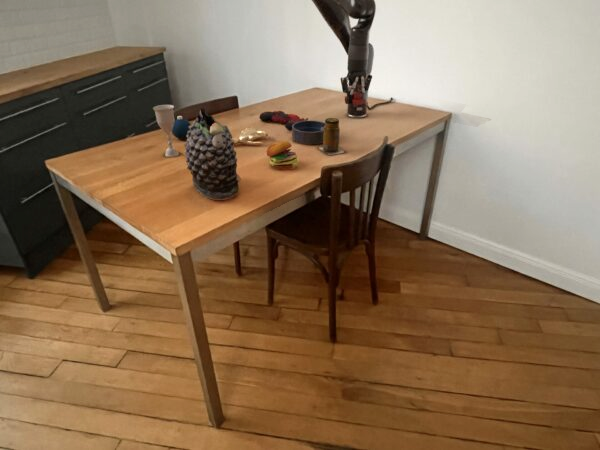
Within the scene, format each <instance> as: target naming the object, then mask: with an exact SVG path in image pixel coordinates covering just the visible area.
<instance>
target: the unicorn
mask: <svg viewBox="0 0 600 450" xmlns="http://www.w3.org/2000/svg"><path fill="white" fill-rule="evenodd" d="M263 138H266V140H269V139H271V135H270V133H269V132H265V131H263V130H258V128H257V127H248V128H247V127H245V129H243V130H242V131H240V135H238V136H237V137H236V136H235V137H234V138H232V139H233V146H235V145H239V144H241V145H247V146H248V145H249V146H259V145H263V141H256V140H257V139H263Z"/></svg>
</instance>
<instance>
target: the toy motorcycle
mask: <svg viewBox="0 0 600 450" xmlns="http://www.w3.org/2000/svg"><path fill="white" fill-rule="evenodd" d="M259 119H260V121H262V122H265V123H266V122H267V123H268V122H275V123H277V124H282V125H284V127H285V129H286V130H289V131H292V125H293V124H294V123H296V122H300V121H309V117H307V118H304V117H303V118H301V117H300V116H298V115H297V114H293V113H285V112H284V111H282V110H274V111H264V112H261V113H260V114H259Z"/></svg>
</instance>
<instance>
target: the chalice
mask: <svg viewBox="0 0 600 450" xmlns="http://www.w3.org/2000/svg"><path fill="white" fill-rule="evenodd" d="M174 108H175V106H174V105H173V104H159V105H156V106H153V107H152V110H153V111H154V113H155V118H156V122H157V125H158V126H159V127H160V129H161V130H162V132H163V133H165V134H166V139H167V143H166V144H168V147H167V148H166V150H165V157H167V158H173V157H178V156H179V155H180V154H179V152H178V150H177V149H176V148H175V147H173V144H172V143H173V141H172V136H171V133H172V129H173V126H174V121H175V120H176V119H175V114H174Z"/></svg>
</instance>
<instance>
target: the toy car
mask: <svg viewBox="0 0 600 450" xmlns="http://www.w3.org/2000/svg"><path fill="white" fill-rule="evenodd" d="M352 95H353V97H352V104H353V106H354V107H357V106H358V105H361V106H364V105H365V104H366V100H365V99H363V98H362V94H360V93H358V92H353V94H352ZM344 103H345V104H346V105H348V103H347V95H345V96H344Z"/></svg>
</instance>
